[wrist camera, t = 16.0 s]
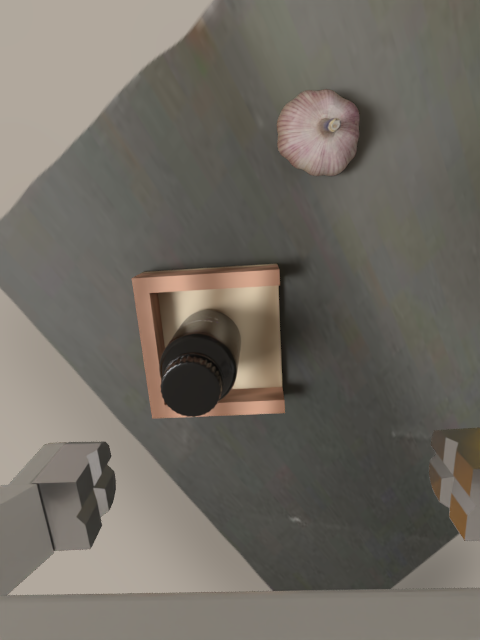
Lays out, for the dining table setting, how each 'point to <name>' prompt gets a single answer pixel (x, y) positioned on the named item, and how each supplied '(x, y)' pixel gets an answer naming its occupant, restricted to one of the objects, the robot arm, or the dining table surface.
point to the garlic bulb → (319, 132)
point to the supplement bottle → (200, 363)
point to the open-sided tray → (232, 300)
